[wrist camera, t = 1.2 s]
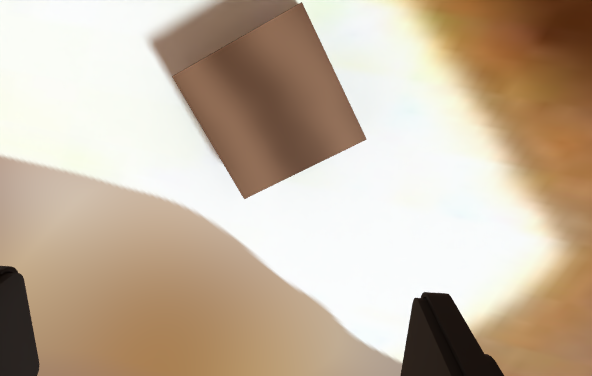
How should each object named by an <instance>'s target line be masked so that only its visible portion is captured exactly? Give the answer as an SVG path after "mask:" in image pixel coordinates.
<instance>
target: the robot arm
mask: <svg viewBox="0 0 592 376" xmlns="http://www.w3.org/2000/svg"><path fill="white" fill-rule="evenodd" d="M38 371H39V359H38V354H37V348H36V343H35V338H34V332H33V326H32V321H31V316H30V310H29V305H28V300H27V294H26V288H25V283H24V278H23V276H22V275H21V274H19V273H18V271H17V270H16V269H15V268H14V267H9V266H0V376H37V374H38ZM401 376H504V375H503V373H502V371H501V370H500V368H499V366H498V365H497V363H496V362H495V360H494V359H493V358H492V357H491V356H489V355H488V354H484V353H483V351H482V349H481V347H480V346H479V344H478V342H477V341H476V339H475V337H474V335H473V334H472V332H471V330H470V329H469V327H468V325H467V324H466V322H465V320H464V318H463V317H462V315H461V313H460V312H459V310H458V308H457V306H456V305H455V303H454V301H453V300H452V298H451V296H450V295H449V294H445V293H429V292H424V293H422V295H421V298H415V299H414V300H413V304H412V310H411V316H410V322H409V328H408V334H407V340H406V346H405V352H404V358H403V364H402V370H401Z"/></svg>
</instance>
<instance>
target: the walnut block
mask: <svg viewBox="0 0 592 376" xmlns="http://www.w3.org/2000/svg"><path fill="white" fill-rule="evenodd" d="M172 77H173V79H174V81H175V82H176V84H177V86H178V87H179V89H180V91H181V92H182V94H183V96H184V98H185V99H186V101H187V103H188V104H189V106H190V108H191V109H192V111H193V113H194V115H195V116H196V118H197V120H198V121H199V123H200V125H201V126H202V128H203V130H204V132H205V133H206V135H207V137H208V138H209V140H210V142H211V143H212V145H213V147H214V149H215V150H216V152H217V154H218V155H219V157H220V159H221V161H222V162H223V164H224V166H225V167H226V169H227V171H228V172H229V174H230V176H231V178H232V179H233V181H234V183H235V184H236V186H237V188H238V189H239V191H240V193H241V195H242V196H243V198H244V199H246V198H248V197H250V196H252V195H254V194H256V193H258V192H260V191H262V190H264V189H266V188H268V187H270V186H272V185H274V184H276V183H278V182H280V181H282V180H284V179H287V178H289V177H291V176H293V175H295V174H297V173H299V172H301V171H303V170H305V169H307V168H309V167H311V166H313V165H315V164H317V163H319V162H321V161H323V160H325V159H328V158H330V157H332V156H334V155H336V154H338V153H340V152H342V151H344V150H346V149H348V148H350V147H352V146H354V145H356V144H358V143H360V142H362V141H364V140H366V137H365V135H364V133H363V131H362V129H361V127H360V124H359V122H358V120H357V118H356V116H355V114H354V112H353V110H352V108H351V105H350V103H349V101H348V99H347V97H346V95H345V93H344V91H343V88H342V86H341V84H340V82H339V80H338V78H337V76H336V74H335V72H334V69H333V67H332V65H331V63H330V61H329V59H328V57H327V55H326V52H325V50H324V48H323V46H322V44H321V42H320V40H319V38H318V36H317V33H316V31H315V29H314V27H313V25H312V23H311V21H310V19H309V16H308V14H307V12H306V10H305V8H304V6H303V4H302V2H301V3H300V4H298V5H296V6H294V7H293V8H291V9H289V10H287V11H286V12H284V13H282V14H280V15H279V16H277V17H275V18H273V19H272V20H270V21H268V22H266V23H265V24H263V25H261V26H259V27H258V28H256V29H254V30H252V31H251V32H249V33H247V34H245V35H244V36H242V37H240V38H238V39H237V40H235V41H233V42H231V43H230V44H228V45H226V46H225V47H223V48H221V49H219V50H218V51H216V52H214V53H212V54H211V55H209V56H207V57H205V58H204V59H202V60H200V61H198V62H197V63H195V64H193V65H191V66H190V67H188V68H186V69H184V70H183V71H181V72H179V73H177V74H176V75H174V76H172Z"/></svg>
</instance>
